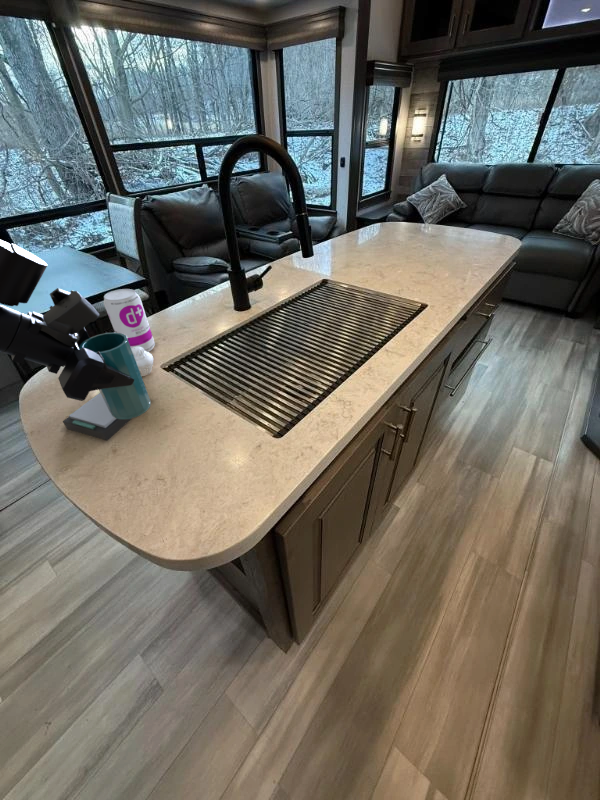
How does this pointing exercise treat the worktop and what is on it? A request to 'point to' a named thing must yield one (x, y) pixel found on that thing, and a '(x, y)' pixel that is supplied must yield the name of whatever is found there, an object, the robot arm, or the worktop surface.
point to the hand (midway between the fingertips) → (126, 372)
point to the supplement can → (129, 317)
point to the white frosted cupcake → (143, 360)
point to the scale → (94, 420)
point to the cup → (120, 356)
